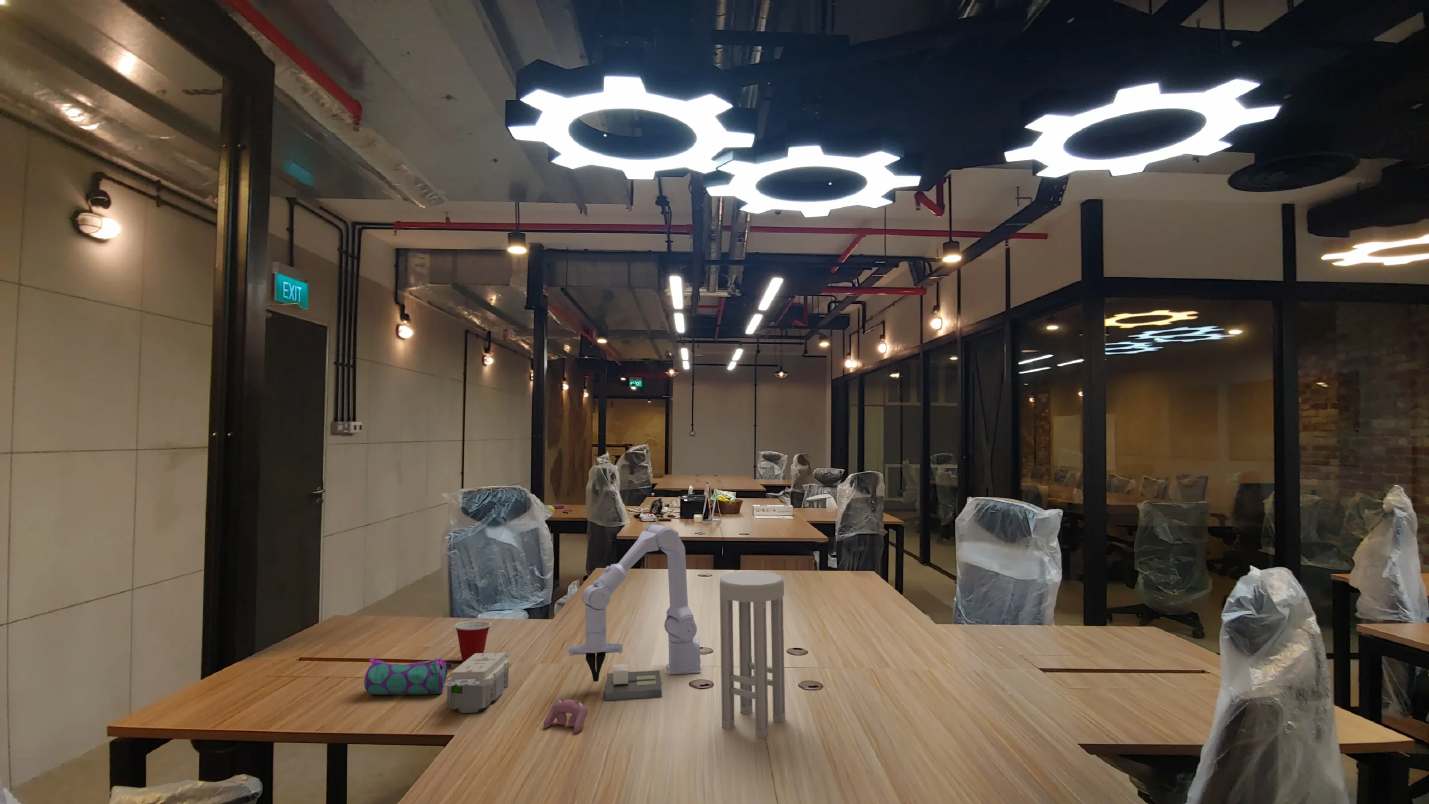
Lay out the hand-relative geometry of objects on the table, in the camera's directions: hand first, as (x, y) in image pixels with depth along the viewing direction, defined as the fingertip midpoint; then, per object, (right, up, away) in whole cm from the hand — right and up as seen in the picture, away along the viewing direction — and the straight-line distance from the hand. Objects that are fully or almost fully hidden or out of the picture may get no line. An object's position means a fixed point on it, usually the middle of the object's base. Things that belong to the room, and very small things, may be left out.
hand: (596, 680), depth 174 cm
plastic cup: (-43, -5, +24) cm, 49 cm away
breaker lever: (+7, 0, +1) cm, 7 cm away
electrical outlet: (-31, -4, -4) cm, 31 cm away
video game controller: (-3, -2, -21) cm, 22 cm away
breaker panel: (+10, -3, +1) cm, 11 cm away
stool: (+42, -1, -21) cm, 47 cm away
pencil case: (-52, -4, 0) cm, 52 cm away
